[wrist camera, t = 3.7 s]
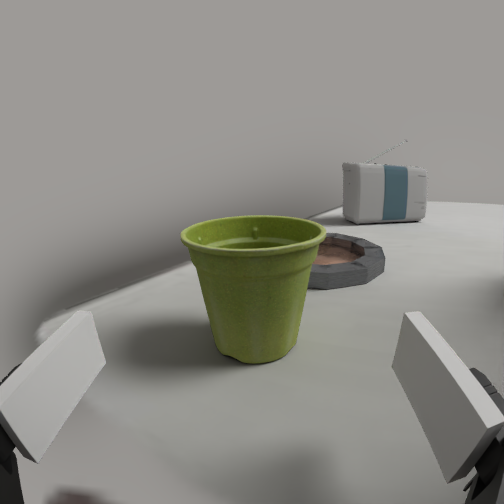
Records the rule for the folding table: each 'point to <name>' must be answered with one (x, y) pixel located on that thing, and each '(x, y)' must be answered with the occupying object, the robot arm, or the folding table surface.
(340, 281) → the steel ring
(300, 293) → the plant pot
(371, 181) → the stereo radio cassette player
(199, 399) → the folding table surface
